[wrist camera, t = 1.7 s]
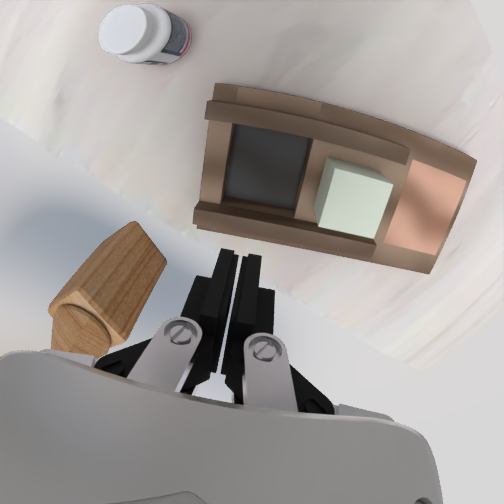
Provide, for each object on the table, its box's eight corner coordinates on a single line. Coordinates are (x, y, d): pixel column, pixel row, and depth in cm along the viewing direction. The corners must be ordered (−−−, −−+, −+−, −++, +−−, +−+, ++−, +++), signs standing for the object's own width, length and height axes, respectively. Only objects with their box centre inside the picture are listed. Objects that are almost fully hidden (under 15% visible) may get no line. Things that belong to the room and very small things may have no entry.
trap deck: (220, 83, 24) (209, 83, 21) (465, 153, 25) (487, 166, 21) (202, 217, 32) (191, 238, 28) (421, 262, 32) (435, 284, 28)
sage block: (327, 156, 25) (335, 168, 21) (378, 170, 25) (393, 184, 21) (313, 207, 27) (318, 226, 24) (362, 218, 28) (373, 238, 24)
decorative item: (134, 280, 37) (62, 409, 20) (101, 241, 34) (7, 361, 17) (170, 261, 35) (99, 407, 18) (136, 216, 32) (32, 348, 15)
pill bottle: (177, 6, 20) (138, -18, 13) (201, 46, 23) (169, 32, 15) (132, 36, 22) (81, 26, 14) (154, 75, 24) (107, 76, 17)
